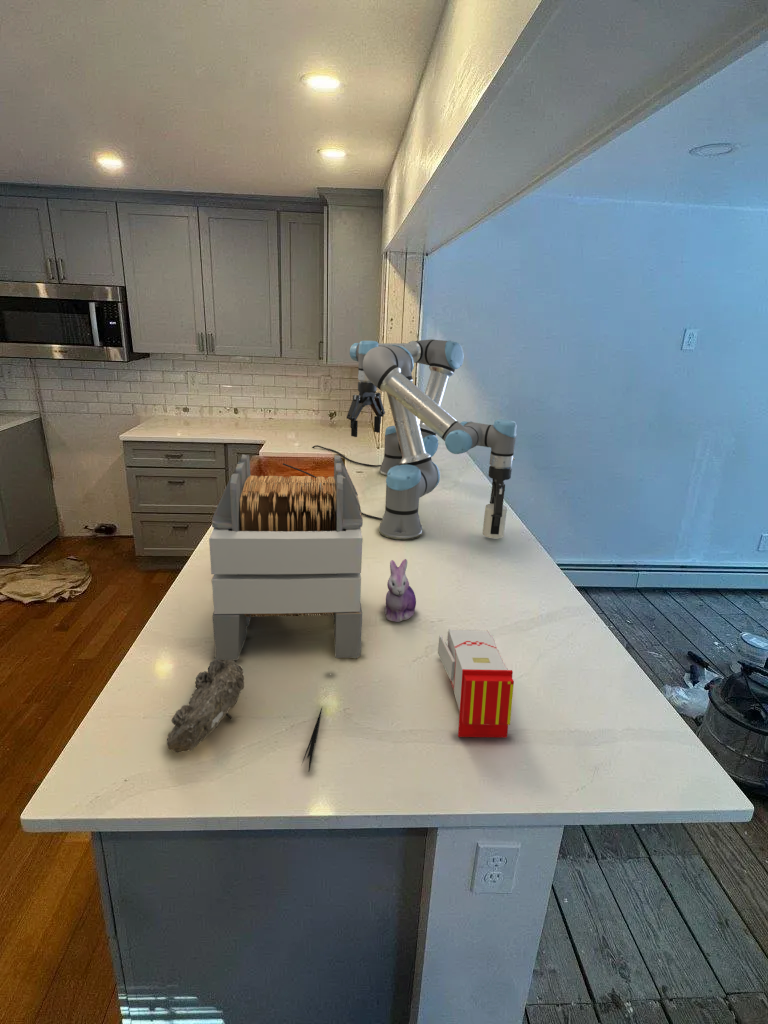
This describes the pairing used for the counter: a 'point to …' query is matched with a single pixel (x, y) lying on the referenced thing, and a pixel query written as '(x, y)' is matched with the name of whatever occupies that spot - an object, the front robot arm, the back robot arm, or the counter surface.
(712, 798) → the counter surface
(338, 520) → the grey record crate stand
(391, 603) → the figurine
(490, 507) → the canister
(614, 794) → the counter surface
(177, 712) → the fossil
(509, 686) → the toy
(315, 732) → the feather
